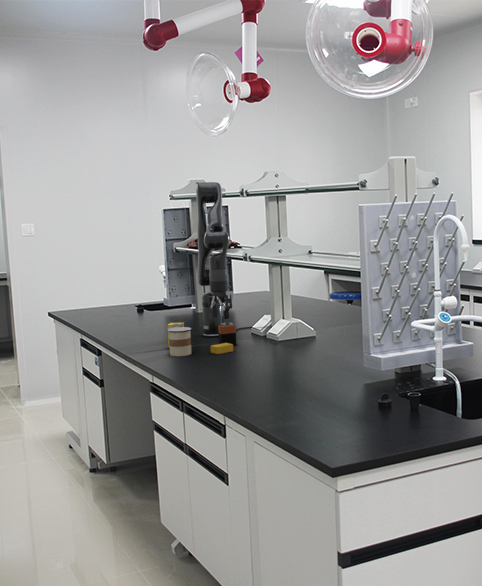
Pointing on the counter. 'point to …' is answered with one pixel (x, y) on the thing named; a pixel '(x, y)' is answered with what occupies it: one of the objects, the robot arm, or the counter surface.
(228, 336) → the battery
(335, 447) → the counter surface
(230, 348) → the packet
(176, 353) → the striped brown canister
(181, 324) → the supplement box
